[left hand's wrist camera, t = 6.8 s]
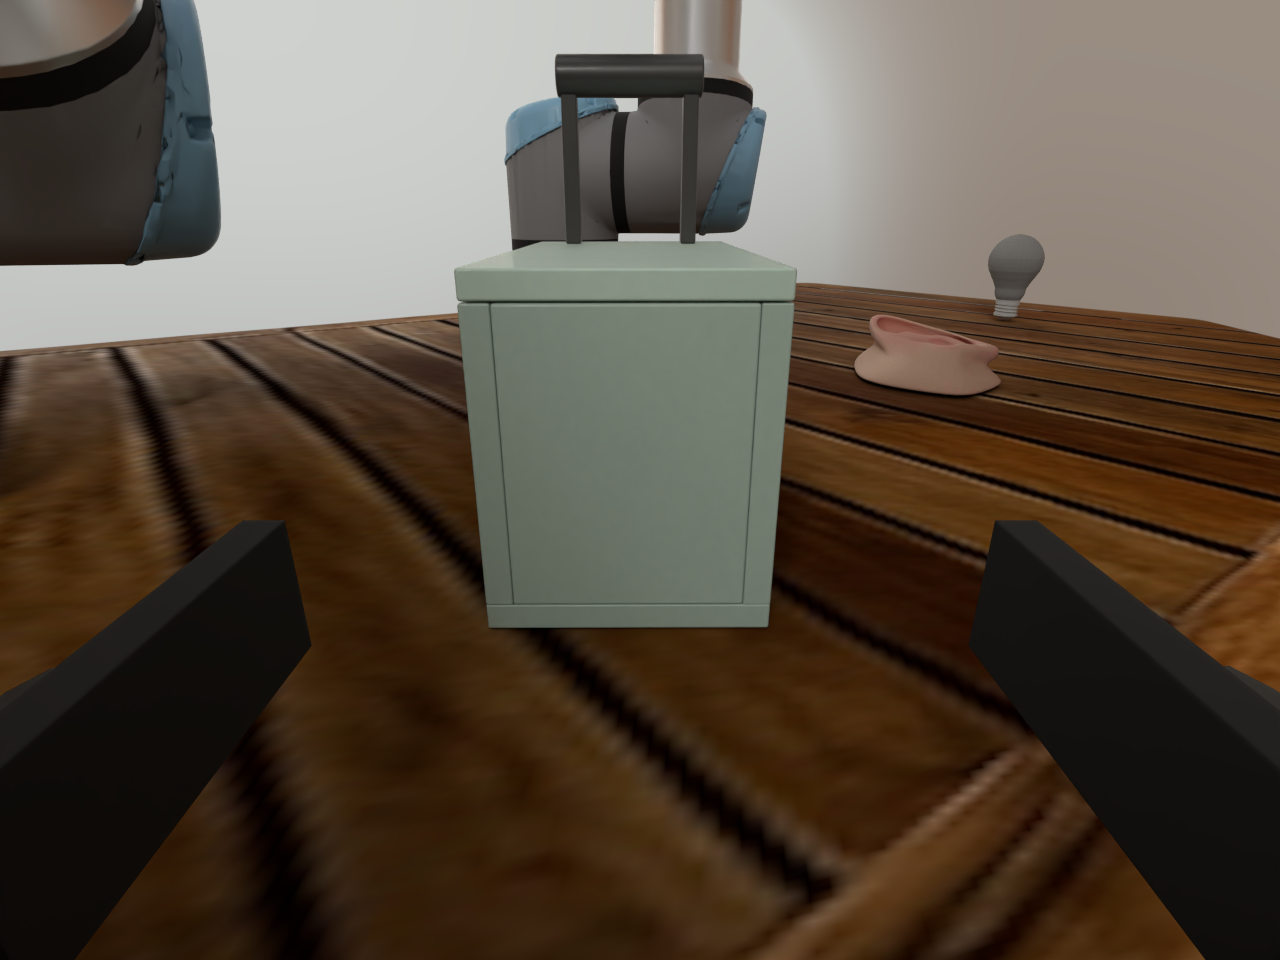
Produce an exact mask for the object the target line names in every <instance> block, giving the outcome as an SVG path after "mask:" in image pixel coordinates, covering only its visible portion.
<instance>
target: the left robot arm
mask: <svg viewBox="0 0 1280 960" xmlns="http://www.w3.org/2000/svg"><path fill="white" fill-rule="evenodd" d="M211 127H212V117H211V110H210V94H209V86H208V78H207V71H206V63H205V56H204V50H203V43H202V37H201V31H200V25H199V20H198V15H197V10H196V7H195V4H194V1H193V0H0V266H9V265H81V264H82V265H83V264H125V265H138V264H140V263H142V262H143V261H148V260H160V259H173V258H186V257H193V256H198V255H201V254H203V253H205V252H207V251H208V250H210V249H211V248H212V247H213V246H214V244H215V243H216V241H217V239H218V237H219V234H220V229H221V206H220V190H219V178H218V167H217V158H216V149H215V142H214V136H213V133H212V128H211ZM310 647H311V641H310V636H309V632H308V627H307V622H306V618H305V613H304V608H303V604H302V599H301V594H300V590H299V585H298V580H297V576H296V571H295V566H294V562H293V557H292V552H291V548H290V543H289V538H288V534H287V529H286V524H285V521H242V522H241V523H239V524H238V525H237V526H236V527H234V528H233V529H232V530H230V531H229V532H228V533H227V534H225V535H224V536H223V537H221V538H220V539H219V540H218V541H216V542H215V543H214V544H213V545H211V546H210V547H209V548H207V549H206V550H205V551H204V552H202V553H201V554H200V555H198V556H197V557H196V558H195V559H193V560H192V561H191V562H189V563H188V564H187V565H186V566H184V567H183V568H182V569H181V570H179V571H178V572H177V573H175V574H174V575H173V576H172V577H170V578H169V579H168V580H166V581H165V582H164V583H163V584H161V585H160V586H159V587H157V588H156V589H155V590H154V591H152V592H151V593H150V594H149V595H147V596H146V597H145V598H143V599H142V600H141V601H140V602H138V603H137V604H136V605H134V606H133V607H132V608H131V609H129V610H128V611H127V612H126V613H124V614H123V615H122V616H120V617H119V618H118V619H117V620H115V621H114V622H113V623H111V624H110V625H109V626H108V627H106V628H105V629H104V630H102V631H101V632H100V633H99V634H97V635H96V636H95V637H94V638H92V639H91V640H90V641H88V642H87V643H86V644H85V645H83V646H82V647H81V648H79V649H78V650H77V651H76V652H74V653H73V654H72V655H70V656H69V657H68V658H67V659H65V660H64V661H63V662H62V663H60V664H59V665H58V666H56V667H55V668H54V669H49V670H48V671H46V672H44V673H42V674H40V675H38V676H36V677H34V678H32V679H30V680H28V681H26V682H25V683H23V684H21V685H19V686H17V687H15V688H13V689H11V690H9V691H7V692H5V693H4V694H3V695H1V696H0V960H75V958H76V957H77V956H78V954H79V953H80V952H81V950H82V949H83V948H84V946H85V945H86V944H87V942H88V941H89V940H90V939H91V937H92V936H93V935H94V933H95V932H96V931H97V929H98V928H99V927H100V925H101V924H102V923H103V921H104V920H105V919H106V917H107V916H108V915H109V913H110V912H111V911H112V909H113V908H114V907H115V905H116V904H117V903H118V901H119V900H120V899H121V897H122V896H123V895H124V893H125V892H126V891H127V889H128V888H129V887H130V886H131V884H132V883H133V882H134V880H135V879H136V878H137V876H138V875H139V874H140V872H141V871H142V870H143V868H144V867H145V866H146V864H147V863H148V862H149V860H150V859H151V858H152V856H153V855H154V854H155V852H156V851H157V850H158V848H159V847H160V846H161V844H162V843H163V842H164V840H165V839H166V838H167V836H168V835H169V834H170V833H171V831H172V830H173V829H174V827H175V826H176V825H177V823H178V822H179V821H180V819H181V818H182V817H183V815H184V814H185V813H186V811H187V810H188V809H189V807H190V806H191V805H192V803H193V802H194V801H195V799H196V798H197V797H198V795H199V794H200V793H201V791H202V790H203V789H204V787H205V786H206V785H207V783H208V782H209V781H210V780H211V778H212V777H213V776H214V774H215V773H216V772H217V770H218V769H219V768H220V766H221V765H222V764H223V762H224V761H225V760H226V758H227V757H228V756H229V754H230V753H231V752H232V750H233V749H234V748H235V746H236V745H237V744H238V742H239V741H240V740H241V738H242V737H243V736H244V734H245V733H246V732H247V730H248V729H249V728H250V727H251V725H252V724H253V723H254V721H255V720H256V719H257V717H258V716H259V715H260V713H261V712H262V711H263V709H264V708H265V707H266V705H267V704H268V703H269V701H270V700H271V699H272V697H273V696H274V695H275V693H276V692H277V691H278V689H279V688H280V687H281V685H282V684H283V683H284V681H285V680H286V679H287V677H288V676H289V675H290V673H291V672H292V671H293V670H294V668H295V667H296V666H297V664H298V663H299V662H300V660H301V659H302V658H303V656H304V655H305V654H306V652H307V651H308V650H309V648H310ZM969 647H970V648H971V650H972V651H973V652H974V654H975V655H976V656H977V658H978V659H979V660H980V662H981V663H982V664H983V666H984V667H985V668H986V670H987V671H988V672H989V674H990V675H991V676H992V677H993V679H994V680H995V681H996V683H997V684H998V685H999V687H1000V688H1001V689H1002V691H1003V692H1004V693H1005V695H1006V696H1007V697H1008V699H1009V700H1010V701H1011V703H1012V704H1013V705H1014V707H1015V708H1016V709H1017V711H1018V712H1019V713H1020V715H1021V716H1022V717H1023V719H1024V720H1025V721H1026V723H1027V724H1028V725H1029V727H1030V728H1031V729H1032V730H1033V732H1034V733H1035V734H1036V736H1037V737H1038V738H1039V740H1040V741H1041V742H1042V744H1043V745H1044V746H1045V748H1046V749H1047V750H1048V752H1049V753H1050V754H1051V756H1052V757H1053V758H1054V760H1055V761H1056V762H1057V764H1058V765H1059V766H1060V768H1061V769H1062V770H1063V772H1064V773H1065V774H1066V776H1067V777H1068V778H1069V780H1070V781H1071V782H1072V783H1073V785H1074V786H1075V787H1076V789H1077V790H1078V791H1079V793H1080V794H1081V795H1082V797H1083V798H1084V799H1085V801H1086V802H1087V803H1088V805H1089V806H1090V807H1091V809H1092V810H1093V811H1094V813H1095V814H1096V815H1097V817H1098V818H1099V819H1100V821H1101V822H1102V823H1103V825H1104V826H1105V827H1106V829H1107V830H1108V831H1109V833H1110V834H1111V835H1112V836H1113V838H1114V839H1115V840H1116V842H1117V843H1118V844H1119V846H1120V847H1121V848H1122V850H1123V851H1124V852H1125V854H1126V855H1127V856H1128V858H1129V859H1130V860H1131V862H1132V863H1133V864H1134V866H1135V867H1136V868H1137V870H1138V871H1139V872H1140V874H1141V875H1142V876H1143V878H1144V879H1145V880H1146V882H1147V883H1148V884H1149V886H1150V887H1151V888H1152V889H1153V891H1154V892H1155V893H1156V895H1157V896H1158V897H1159V899H1160V900H1161V901H1162V903H1163V904H1164V905H1165V907H1166V908H1167V909H1168V911H1169V912H1170V913H1171V915H1172V916H1173V917H1174V919H1175V920H1176V921H1177V923H1178V924H1179V925H1180V927H1181V928H1182V929H1183V931H1184V932H1185V933H1186V935H1187V936H1188V937H1189V939H1190V940H1191V941H1192V942H1193V944H1194V945H1195V946H1196V948H1197V949H1198V950H1199V952H1200V953H1201V954H1202V956H1203V957H1204V958H1205V960H1280V693H1279V692H1278V691H1276V690H1275V689H1273V688H1271V687H1269V686H1267V685H1265V684H1263V683H1261V682H1259V681H1257V680H1255V679H1253V678H1252V677H1250V676H1248V675H1246V674H1244V673H1242V672H1240V671H1238V670H1236V669H1234V668H1232V667H1230V666H1222V665H1221V664H1220V663H1218V662H1217V661H1216V660H1215V659H1213V658H1212V657H1211V656H1210V655H1208V654H1207V653H1206V652H1204V651H1203V650H1202V649H1201V648H1199V647H1198V646H1197V645H1195V644H1194V643H1193V642H1192V641H1190V640H1189V639H1188V638H1186V637H1185V636H1184V635H1183V634H1181V633H1180V632H1179V631H1178V630H1176V629H1175V628H1174V627H1172V626H1171V625H1170V624H1169V623H1167V622H1166V621H1165V620H1163V619H1162V618H1161V617H1160V616H1158V615H1157V614H1156V613H1154V612H1153V611H1152V610H1151V609H1149V608H1148V607H1147V606H1146V605H1144V604H1143V603H1142V602H1140V601H1139V600H1138V599H1137V598H1135V597H1134V596H1133V595H1131V594H1130V593H1129V592H1128V591H1126V590H1125V589H1124V588H1123V587H1121V586H1120V585H1119V584H1117V583H1116V582H1115V581H1114V580H1112V579H1111V578H1110V577H1108V576H1107V575H1106V574H1105V573H1103V572H1102V571H1101V570H1099V569H1098V568H1097V567H1096V566H1094V565H1093V564H1092V563H1091V562H1089V561H1088V560H1087V559H1085V558H1084V557H1083V556H1082V555H1080V554H1079V553H1078V552H1076V551H1075V550H1074V549H1073V548H1071V547H1070V546H1069V545H1067V544H1066V543H1065V542H1064V541H1062V540H1061V539H1060V538H1059V537H1057V536H1056V535H1055V534H1053V533H1052V532H1051V531H1050V530H1048V529H1047V528H1046V527H1044V526H1043V525H1042V524H1041V523H1039V522H1038V521H995V524H994V529H993V534H992V538H991V543H990V548H989V552H988V557H987V562H986V566H985V571H984V576H983V580H982V585H981V590H980V594H979V599H978V604H977V608H976V613H975V618H974V622H973V627H972V632H971V636H970V641H969Z"/></svg>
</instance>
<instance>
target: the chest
mask: <svg viewBox="0 0 1280 960" xmlns="http://www.w3.org/2000/svg"><path fill="white" fill-rule="evenodd" d="M457 307H458V317H459V328H460V338H461V348H462V358H463V369H464V379H465V389H466V399H467V410H468V420H469V430H470V440H471V451H472V461H473V471H474V481H475V492H476V502H477V512H478V522H479V533H480V543H481V553H482V563H483V574H484V584H485V594H486V603H487V615H488V626H489V628H634V627H768V622H769V610H770V598H771V586H772V574H773V562H774V549H775V537H776V525H777V513H778V500H779V488H780V476H781V464H782V452H783V439H784V427H785V415H786V403H787V391H788V378H789V366H790V354H791V342H792V330H793V317H794V303H792V302H790V301H463V302H461V303H459V304H458V306H457Z"/></svg>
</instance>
